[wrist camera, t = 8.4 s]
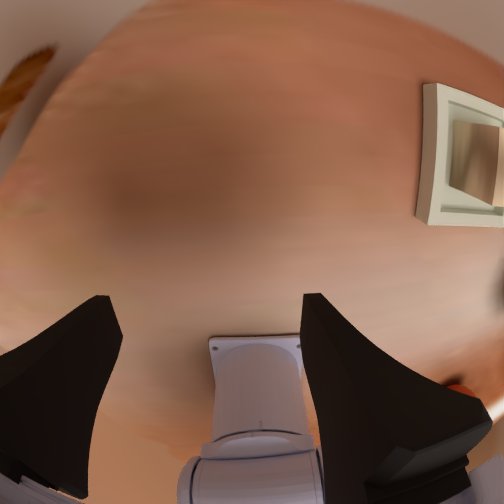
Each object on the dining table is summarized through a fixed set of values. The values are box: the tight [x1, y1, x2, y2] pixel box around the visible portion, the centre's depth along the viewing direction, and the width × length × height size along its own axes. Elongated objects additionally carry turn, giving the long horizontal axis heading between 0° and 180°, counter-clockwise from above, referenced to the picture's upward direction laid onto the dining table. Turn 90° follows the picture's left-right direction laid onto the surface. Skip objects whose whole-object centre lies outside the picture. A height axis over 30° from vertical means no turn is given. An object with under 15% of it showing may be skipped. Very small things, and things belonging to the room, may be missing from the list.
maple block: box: [449, 121, 504, 207], centre depth 14 cm, size 5×5×5 cm
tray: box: [415, 83, 504, 227], centre depth 16 cm, size 10×10×2 cm
